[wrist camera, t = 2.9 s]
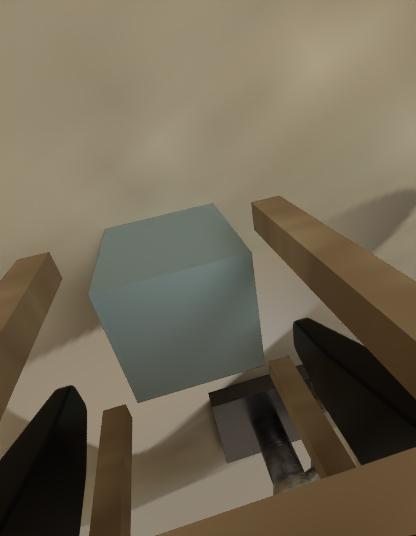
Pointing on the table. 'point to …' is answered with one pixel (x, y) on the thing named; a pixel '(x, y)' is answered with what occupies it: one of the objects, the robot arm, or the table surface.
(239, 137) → the table surface
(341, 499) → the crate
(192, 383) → the block
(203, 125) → the table surface
